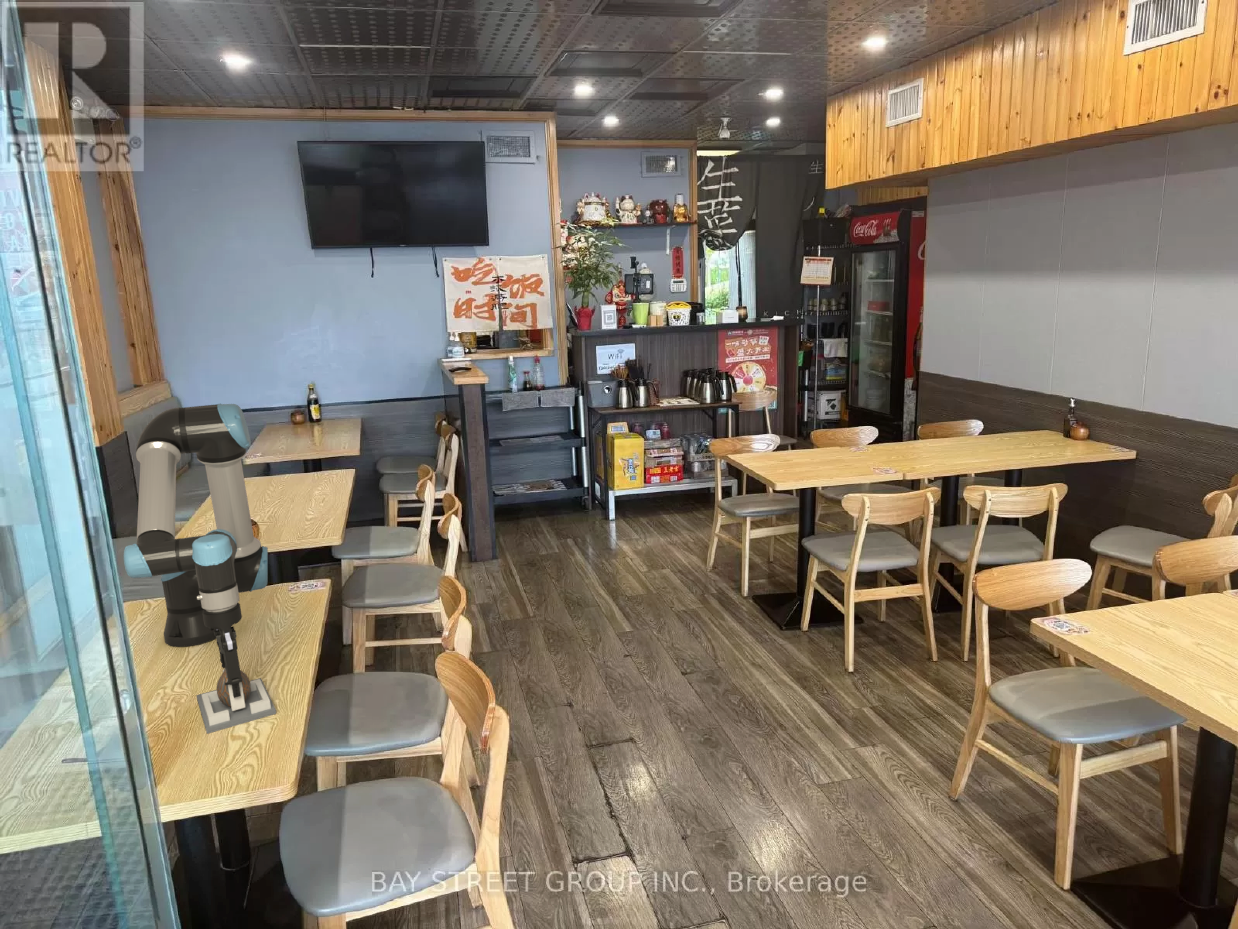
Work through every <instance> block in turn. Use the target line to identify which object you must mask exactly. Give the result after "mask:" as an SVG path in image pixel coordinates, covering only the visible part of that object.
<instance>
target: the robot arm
mask: <svg viewBox="0 0 1238 929" xmlns="http://www.w3.org/2000/svg"><path fill="white" fill-rule="evenodd" d="M251 443H252V441H251V436H250V431H249V426H248V423H247V420H246V417H245V414H244V412H243V410H242V408H241V407H240V406H239V405H238V404H235V403H217V404H207V405H206V404H205V405H197V406H185V407H173V408H170V409H166V410H164V411H162V412H160V413H159V414H157V415H156V416H155V417H154V418H152V419H151V420H150V421H149V422H148V424H147V425H146V426H145V427H144V428H143V430H142V432H141V433H140V435H139V437H138V440H137V444H136V449H135V450H136V451H135V457H136V460H137V461H138V462H139V463H140V465H139V466H140V467H139V484H138V485H139V486H138V487H139V488H138V509H137V510H138V511H137V524H136V525H137V528H136V543H133V544H129V545H126V546H125V548H124V550H123V564H124V570H125V572H126V574H127V576H128V577H129V578H132V579H138V578H139V579H142V578H144V579H145V578H152V577H156V576H160V581H161V584H162V588H163V590H162V591H163V594H164V601H165V607H166V613H167V615H166V620H165V621H166V622H165V625H164V631H163V638H164V643H165V645H167V644H168V645H167V646H169V645H170V647H178V648H181V647H182V648H183V647H184V648H185V647H191V646H198V645H202V644H204V643H205V644H206V643H208V642H211V641H214V640H216V645H217V647H218V651H219V652H218V653H219V658H220V659H219V662H220V663H221V668H222V673H223V672H224V669H225V667H226V672H227V677H228V682H226V683H225V686H226V685H228V690H229V696H230V702H231V708H232V711H234V710H238V709H241V708H245V701H244V695H243V688H242V677H241V672H240V670H241V667H240V660H239V655H238V654H239V653H238V643H237V636H238V635H237V631H236V630H235V626H233V625H236V624H237V623H238V624H239V622H240V621H241V620H242V617H243V615H242V609H241V604H240V603H239V601H240V593H247V592H249V593H251V592H252V591H257V590H262V589H265V588H266V586H267V585H268V576H269V575H268V574H269V573H268V567H269V566H268V551H269V550H268V546H263V545H262V543H261V541H260V539H258V538H257V537H255V536H254V531H253V524H252V518H251V512H250V507H249V501H248V500H249V499H248V495H247V489H246V488H247V487H246V483H245V476H244V468H243V463H242V459H243V458H244V457H245V456H246V455H247V449H248V448H250V447H251V445H252V444H251ZM184 454H196V459H197V461H198V462H200V463H201V464H203V465H204V467H205V473H206V478H207V483H208V488H209V492H210V493H209V494H210V500H211V504H212V509H213V516H214V520H215V525H216V529H213V530H210V531H208V532H207V533H205V535H198V536H197V535H196V536H195V535H194V536H189V537H181V538H179V537H178V538H176V501H177V500H176V492H177V491H176V490H177V489H176V488H177V486H176V485H177V464H178V463H179V462H180V460H181V458H182V455H184Z"/></svg>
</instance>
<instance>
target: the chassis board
mask: <svg viewBox="0 0 1238 929" xmlns="http://www.w3.org/2000/svg"><path fill="white" fill-rule="evenodd" d="M250 684H251V692H250V695H249V697H248V699H247V700H246V702H245V708H241V709H238V710H234V711H232V708H231V707H228V706H226V705H224V704H223V703H221V701H220V700H219V698H218V695H217V689H214V690H210V691H207V692H203V693H200V694H196V701H197V704H198V707H199V711H200V715H201V718H202V722H203V725H204V729H205V731H206V734H207V735H208V734H211V733H214V732H217V731H221V730H226V729H228V728H229V729H230V728H232V727H235V726H238V725H243V724H245V723H249V722H253V721H256V720H259V719H264V718H265V717H269V716H274V715H277V709H276V706H275V705H274V703H273V701H272V699H271V697H270V695H269V692H268V690H267V688H266V686H265V684H264V682H263V679H262V677H259V678H255V679H251V680H250Z"/></svg>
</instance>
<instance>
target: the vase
mask: <svg viewBox="0 0 1238 929" xmlns="http://www.w3.org/2000/svg"><path fill="white" fill-rule="evenodd" d="M223 670H224V672H223V671H222V673H221V675H220V677H219V679H218V680H217V684H216V690H217V695H218V698H219V700H220V701H221V703H223V704H224V705H226V706H228V707H231V702H230V696H229V690H228V685H226V686H225V683H226V682H228V677H227V672H226V667H225V668H223ZM240 672H241V677H242V688H243V695H244V701H245V702H246V700H247V699H248V697H249V695H250V692H251V684H250V681H251V680H250V678H249V676H248V675H247V674H246V673H245V671H242V670H241V669H240Z"/></svg>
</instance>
